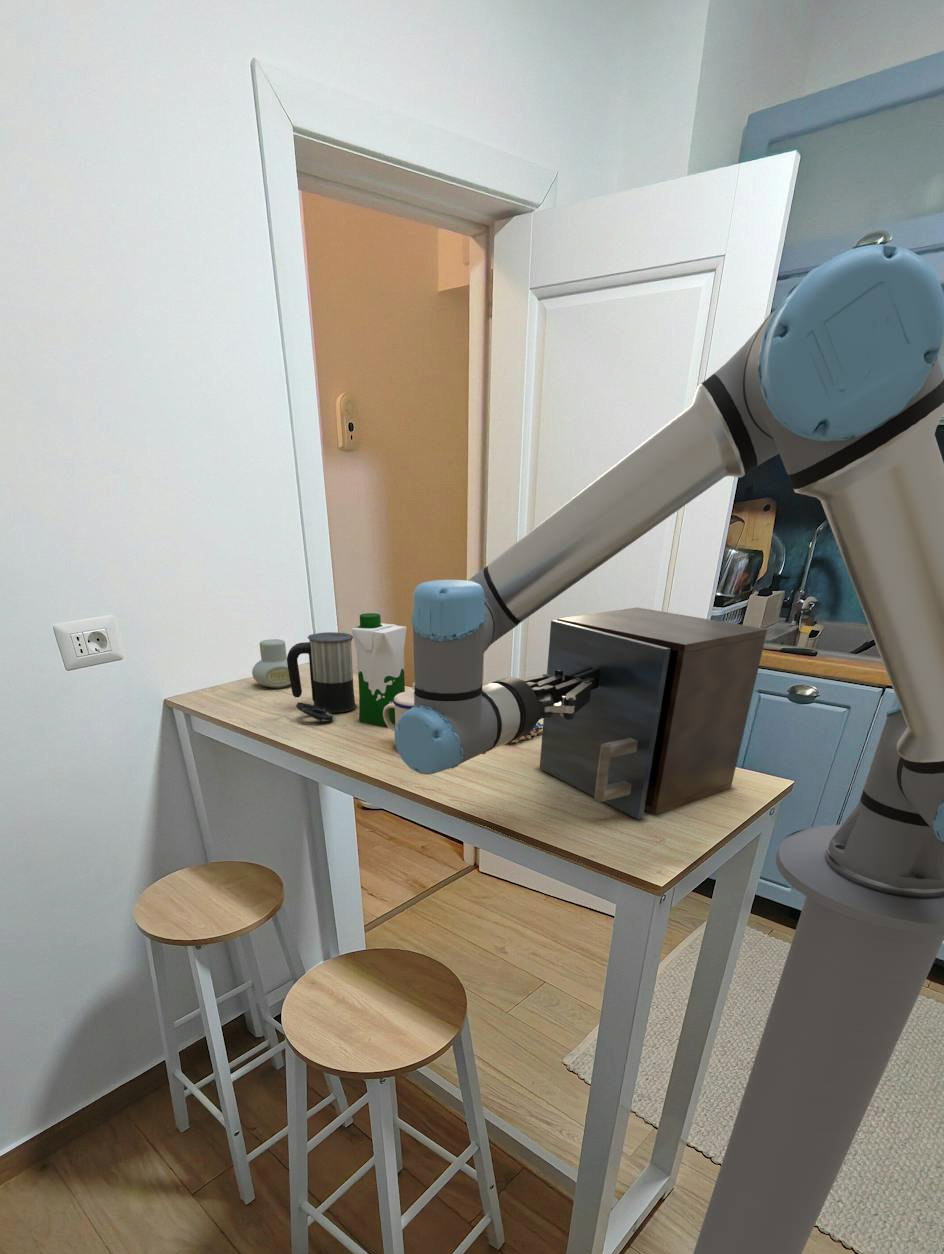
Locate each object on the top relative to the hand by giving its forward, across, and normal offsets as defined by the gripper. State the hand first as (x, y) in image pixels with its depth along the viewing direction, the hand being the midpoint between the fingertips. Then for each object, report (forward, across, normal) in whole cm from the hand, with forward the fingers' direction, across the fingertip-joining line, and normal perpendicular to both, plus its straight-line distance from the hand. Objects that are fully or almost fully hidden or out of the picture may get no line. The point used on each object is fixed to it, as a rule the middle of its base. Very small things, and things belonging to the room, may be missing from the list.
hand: (593, 677), depth 102 cm
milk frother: (+5, -64, -18) cm, 66 cm away
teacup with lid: (0, -36, -18) cm, 40 cm away
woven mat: (+17, -26, -18) cm, 36 cm away
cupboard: (+12, +4, -18) cm, 22 cm away
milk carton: (+9, -51, -18) cm, 55 cm away
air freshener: (+13, -90, -18) cm, 93 cm away
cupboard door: (-2, 0, -18) cm, 18 cm away
